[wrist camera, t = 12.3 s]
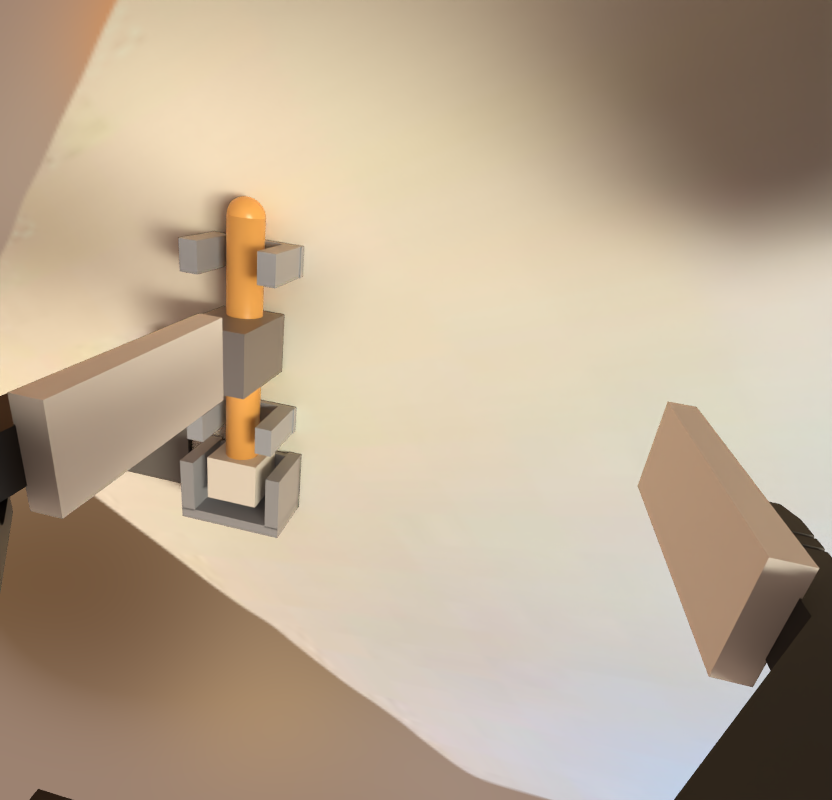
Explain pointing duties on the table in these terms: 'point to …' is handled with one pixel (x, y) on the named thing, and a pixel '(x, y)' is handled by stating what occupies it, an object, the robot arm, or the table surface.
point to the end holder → (260, 519)
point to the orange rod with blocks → (244, 359)
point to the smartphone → (166, 459)
